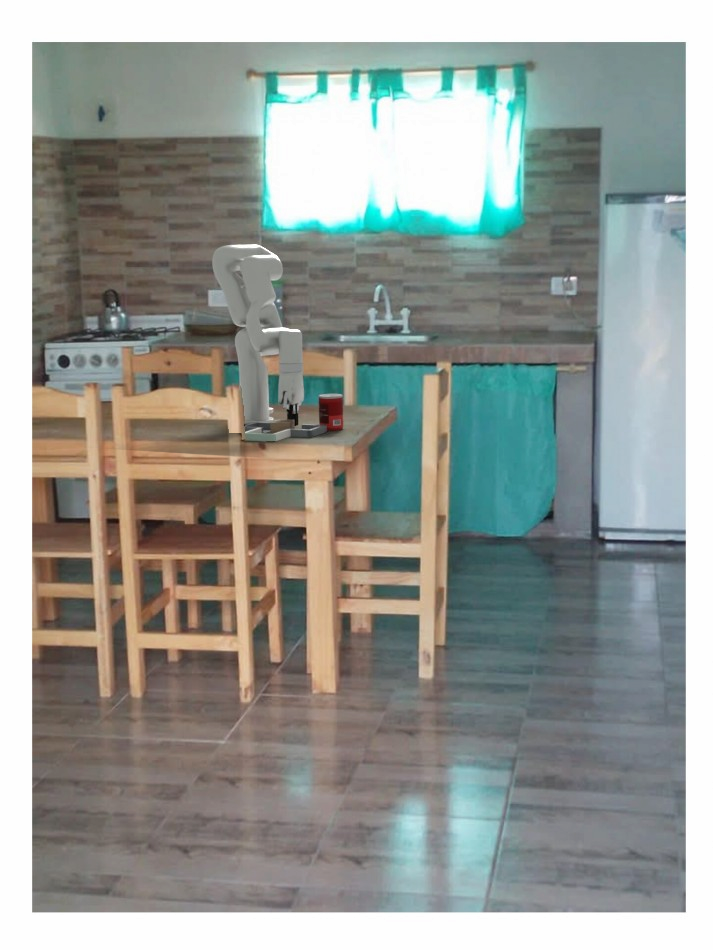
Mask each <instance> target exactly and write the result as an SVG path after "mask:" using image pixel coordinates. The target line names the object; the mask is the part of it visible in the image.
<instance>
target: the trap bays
mask: <svg viewBox="0 0 713 950" xmlns="http://www.w3.org/2000/svg"><path fill="white" fill-rule="evenodd" d="M270 423H271V422H254V423H251V424H244V425H245V431H249V430H252V429H256V428H262V433H263V434H270V433H271V429H270ZM327 432H328V431H327V425H319V424H311V423H308V424H307V423H301V428H295V429H291V436H290V437H293V438H294V437H297V438H313V437H316V436H320V435H321V434H324V433H327Z"/></svg>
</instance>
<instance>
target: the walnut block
mask: <svg viewBox="0 0 713 950" xmlns="http://www.w3.org/2000/svg"><path fill="white" fill-rule="evenodd" d="M270 429H271V432H270V434H274V433H277V432H280V431H283V430H286V429H296V426H295V420H287V419H274V421H272V422H271V423H270Z"/></svg>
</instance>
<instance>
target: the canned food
mask: <svg viewBox="0 0 713 950" xmlns="http://www.w3.org/2000/svg"><path fill="white" fill-rule="evenodd" d="M343 398H344V396H343V394H341V393H325V394H324V393H323V394H319V395H318V420H319V421H318V425H327V432H334V431H340V430H343V429H344V399H343Z"/></svg>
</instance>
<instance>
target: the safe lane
mask: <svg viewBox="0 0 713 950" xmlns="http://www.w3.org/2000/svg"><path fill="white" fill-rule="evenodd" d="M245 437H246V440H245V441H247V442H249V441H250V442H251V441H253V442H266V441H275V442H278V441H282V440H284V439H286V438H290V437H292V436H291V429H286V430H283V431H280V432H277V433H274V434H271V433H266V434H263V433H262V428H256V429H252V430H249V431H246V432H245Z"/></svg>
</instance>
